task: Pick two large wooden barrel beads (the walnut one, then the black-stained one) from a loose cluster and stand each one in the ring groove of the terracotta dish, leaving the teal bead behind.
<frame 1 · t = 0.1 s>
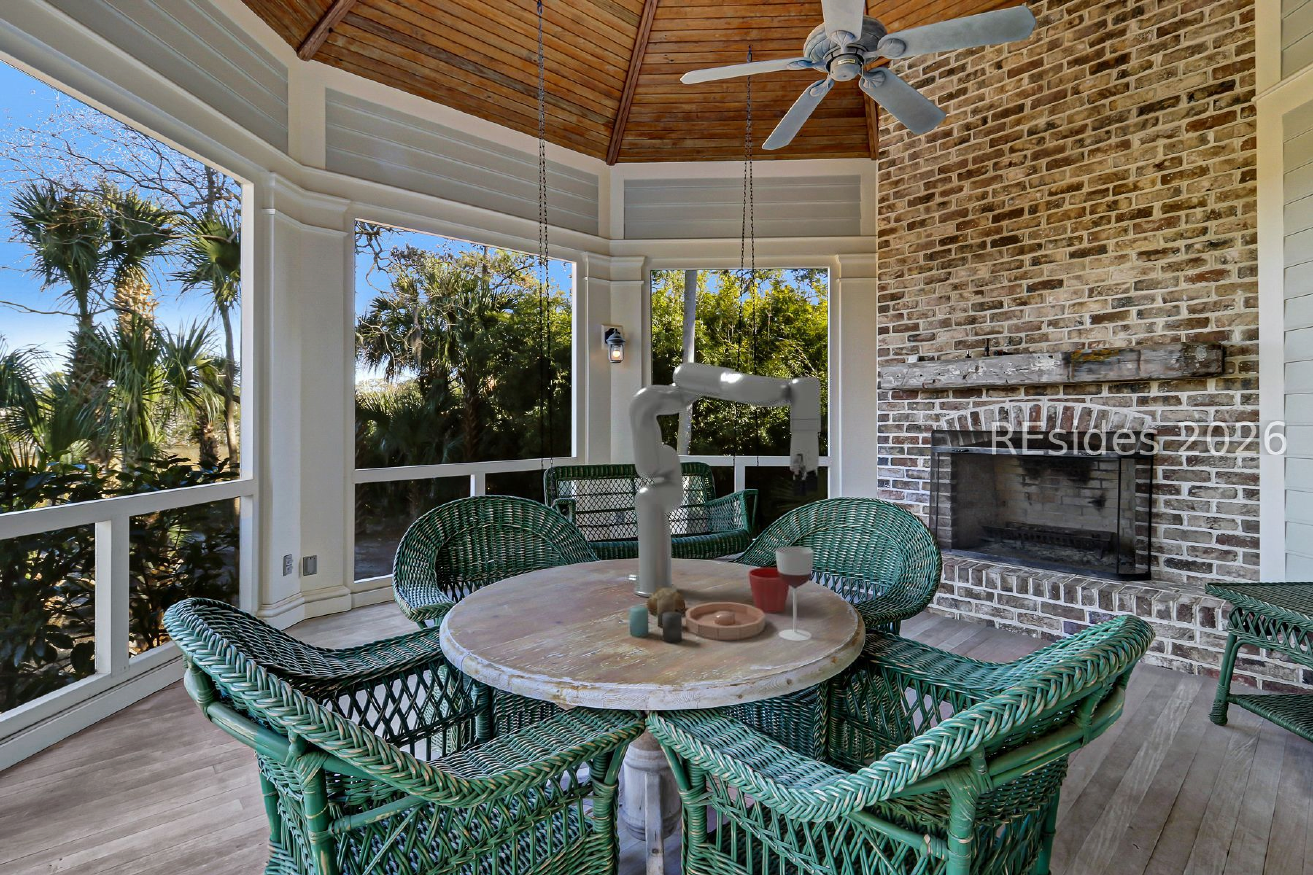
hand: (805, 493, 165), 31 cm above the table, fingers open, 9 cm apart
wineglass: (795, 635, 152), on the table
bread roll: (665, 611, 172), on the table
flower pot: (770, 609, 172), on the table
bead c: (672, 640, 150), on the table
groove dish: (724, 626, 159), on the table
bead b: (639, 633, 155), on the table
bead a: (666, 625, 160), on the table
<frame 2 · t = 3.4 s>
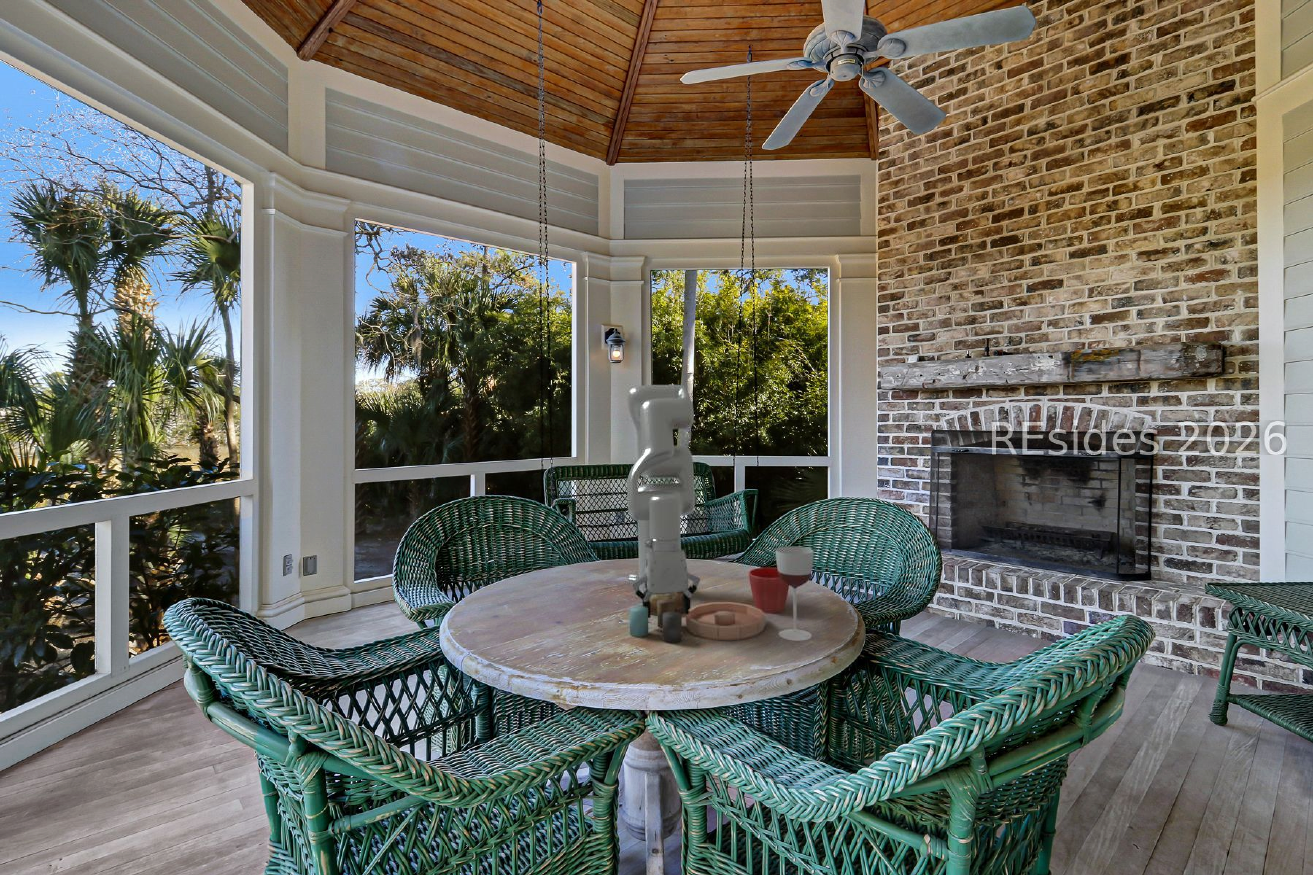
hand: (666, 614, 159), 3 cm above the table, fingers open, 9 cm apart
bead b: (639, 633, 155), on the table, touching gripper
everything else where it was.
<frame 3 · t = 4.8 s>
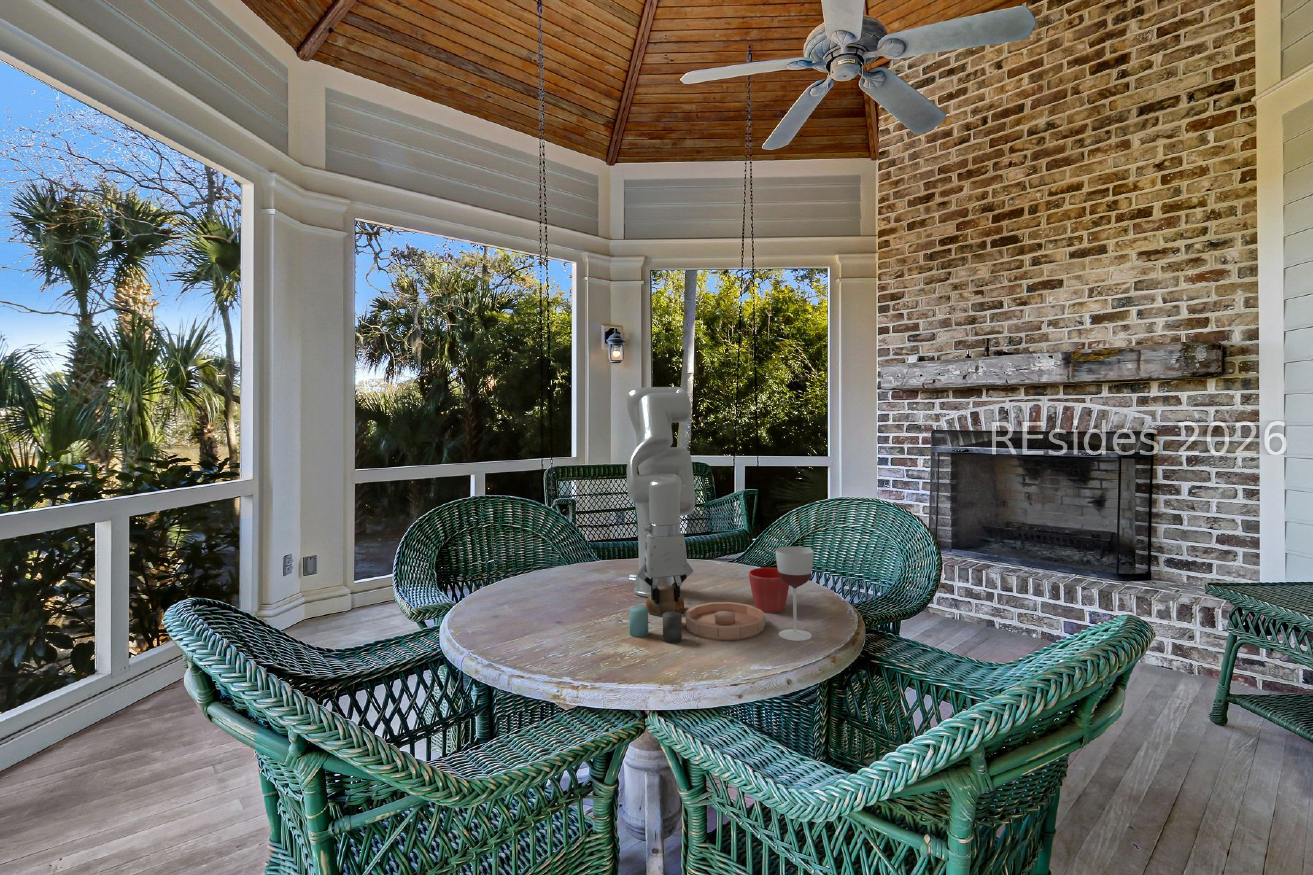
hand: (665, 600, 161), 6 cm above the table, fingers closed on bead a, 4 cm apart
bead b: (639, 633, 155), on the table
bead a: (666, 611, 162), point 3 cm above the table, touching gripper
everything else where it was.
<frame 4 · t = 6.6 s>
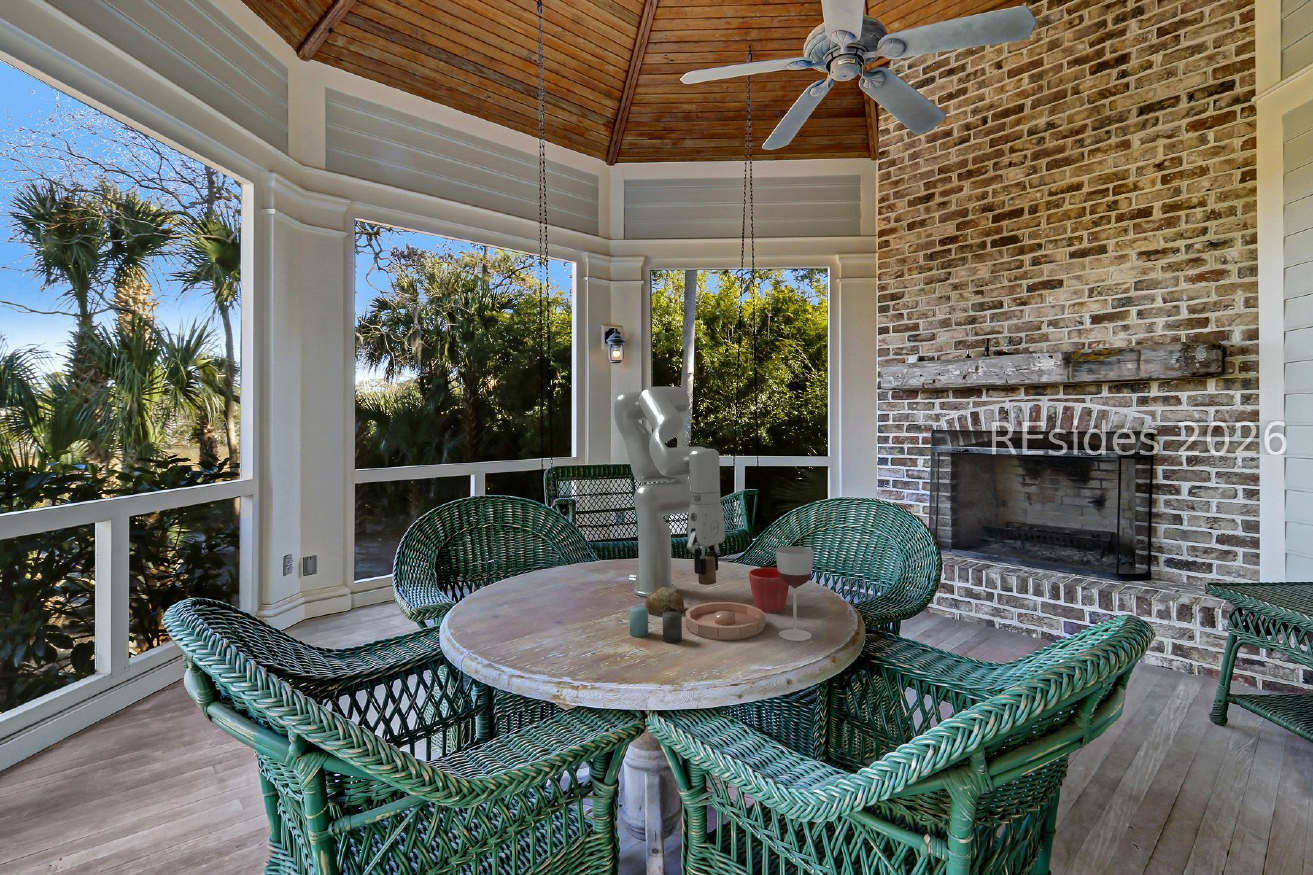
hand: (706, 570, 162), 13 cm above the table, fingers closed on bead a, 4 cm apart
bead a: (707, 582, 162), point 10 cm above the table, touching gripper
everything else where it was.
when the fingers open (3 cm above the table, at t = 8.6 s): bead a stays where it is, resting on groove dish.
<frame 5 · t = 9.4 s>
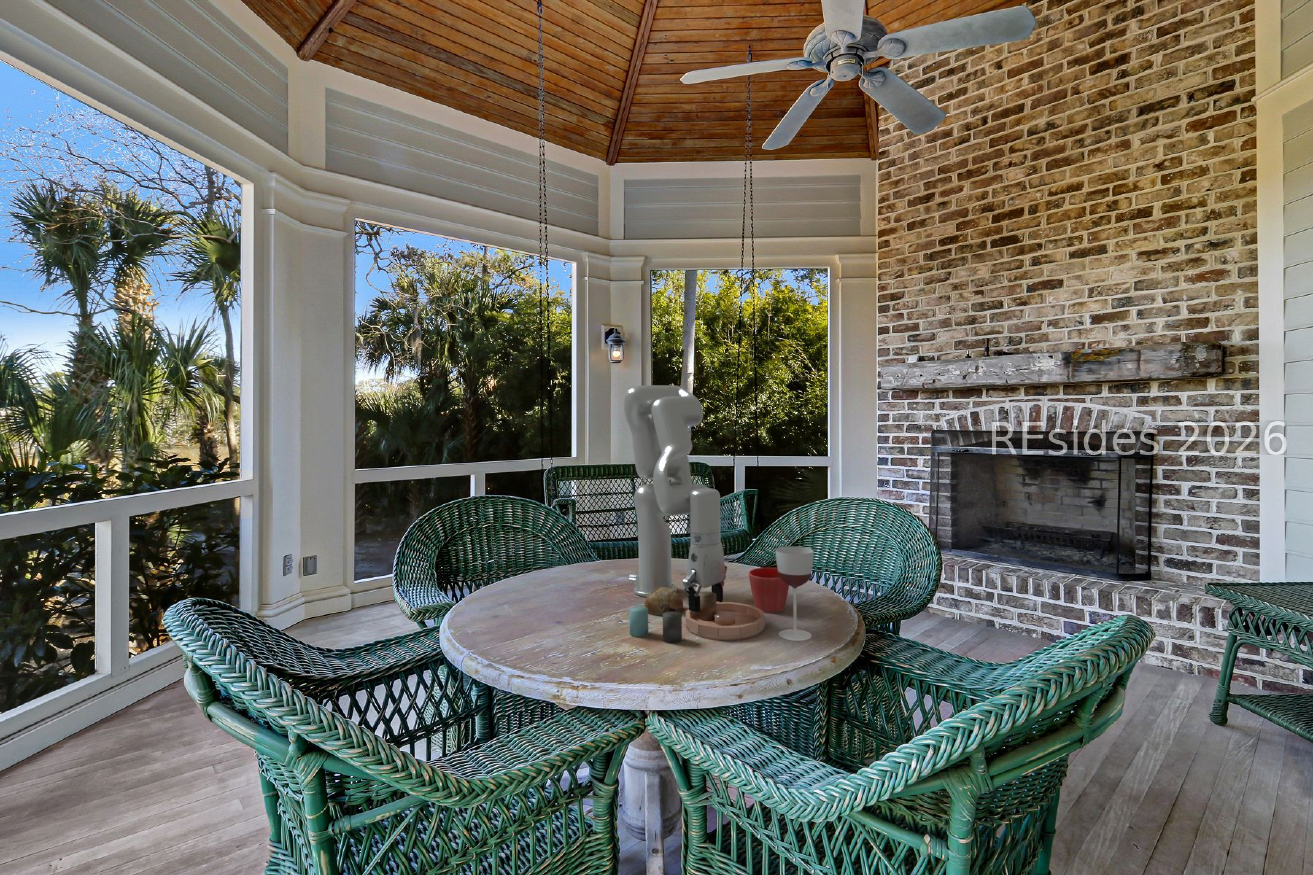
hand: (706, 606, 162), 4 cm above the table, fingers open, 9 cm apart
bead a: (707, 618, 162), point 1 cm above the table, touching groove dish
everything else where it was.
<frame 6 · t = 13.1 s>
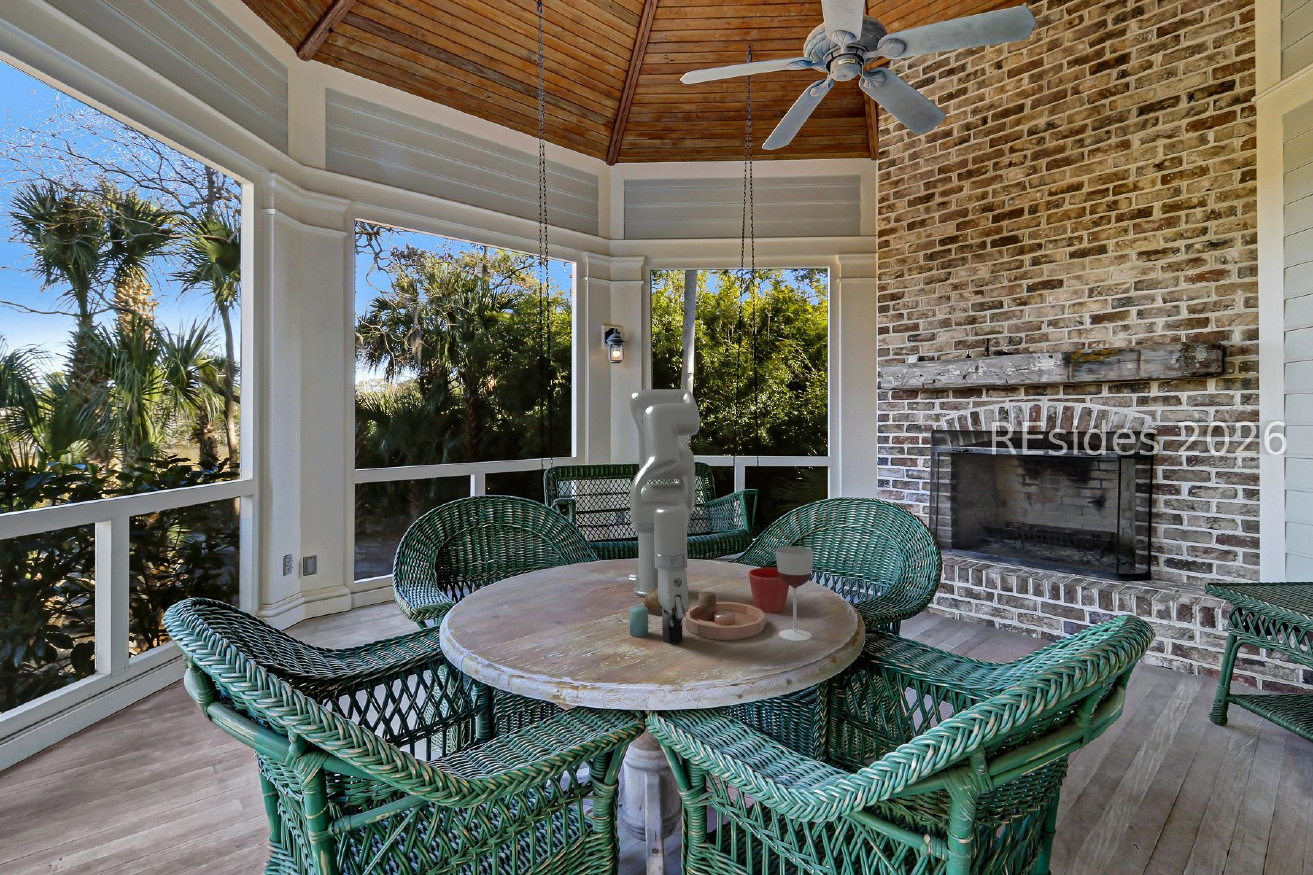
hand: (672, 637, 150), 1 cm above the table, fingers closed on bead c, 4 cm apart
bead c: (672, 640, 150), on the table, touching gripper
when the fingers open (3 cm above the table, at t = 17.5 s): bead c drops 1 cm, resting on groove dish.
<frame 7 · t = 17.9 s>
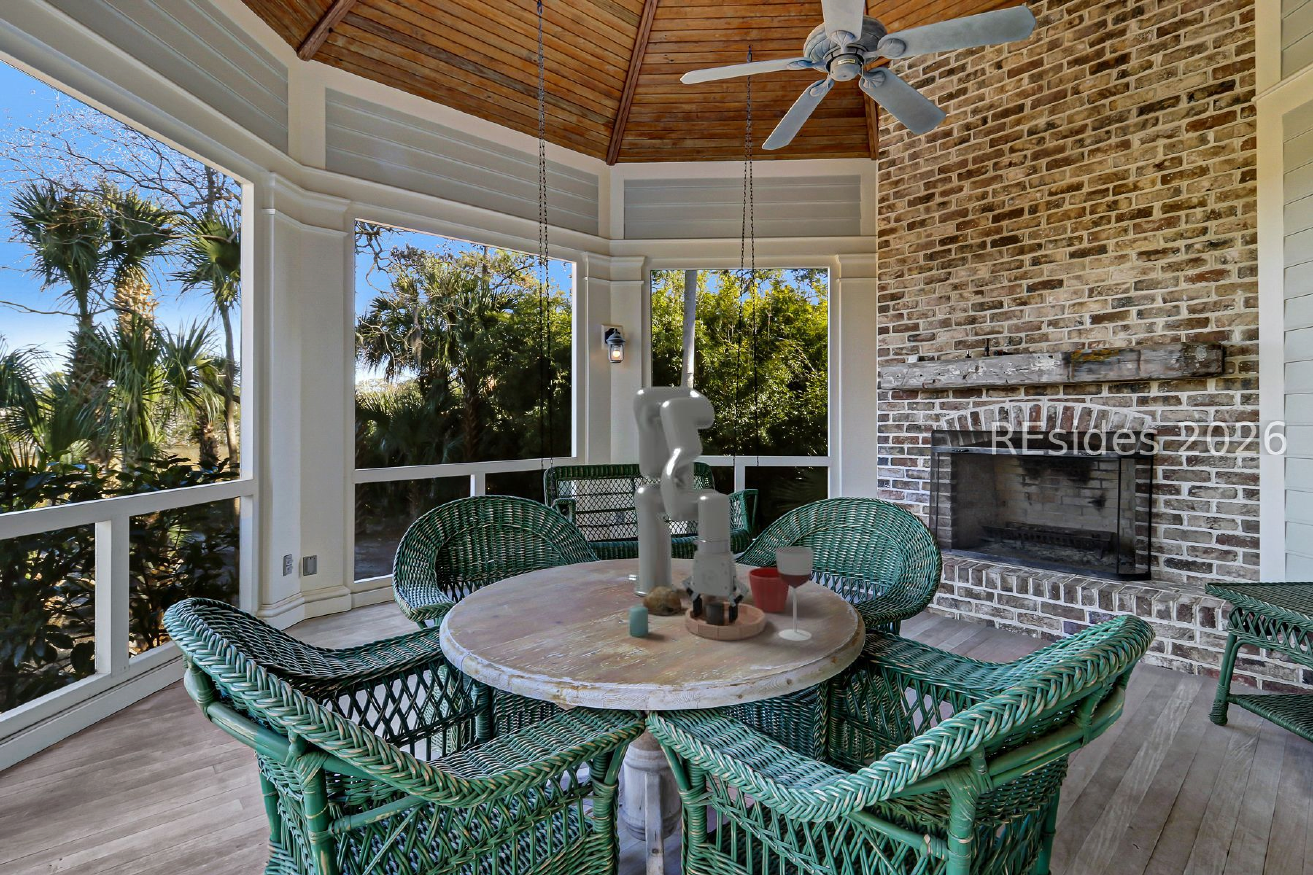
hand: (715, 618, 154), 4 cm above the table, fingers open, 8 cm apart
bead c: (715, 629, 154), point 1 cm above the table, touching groove dish
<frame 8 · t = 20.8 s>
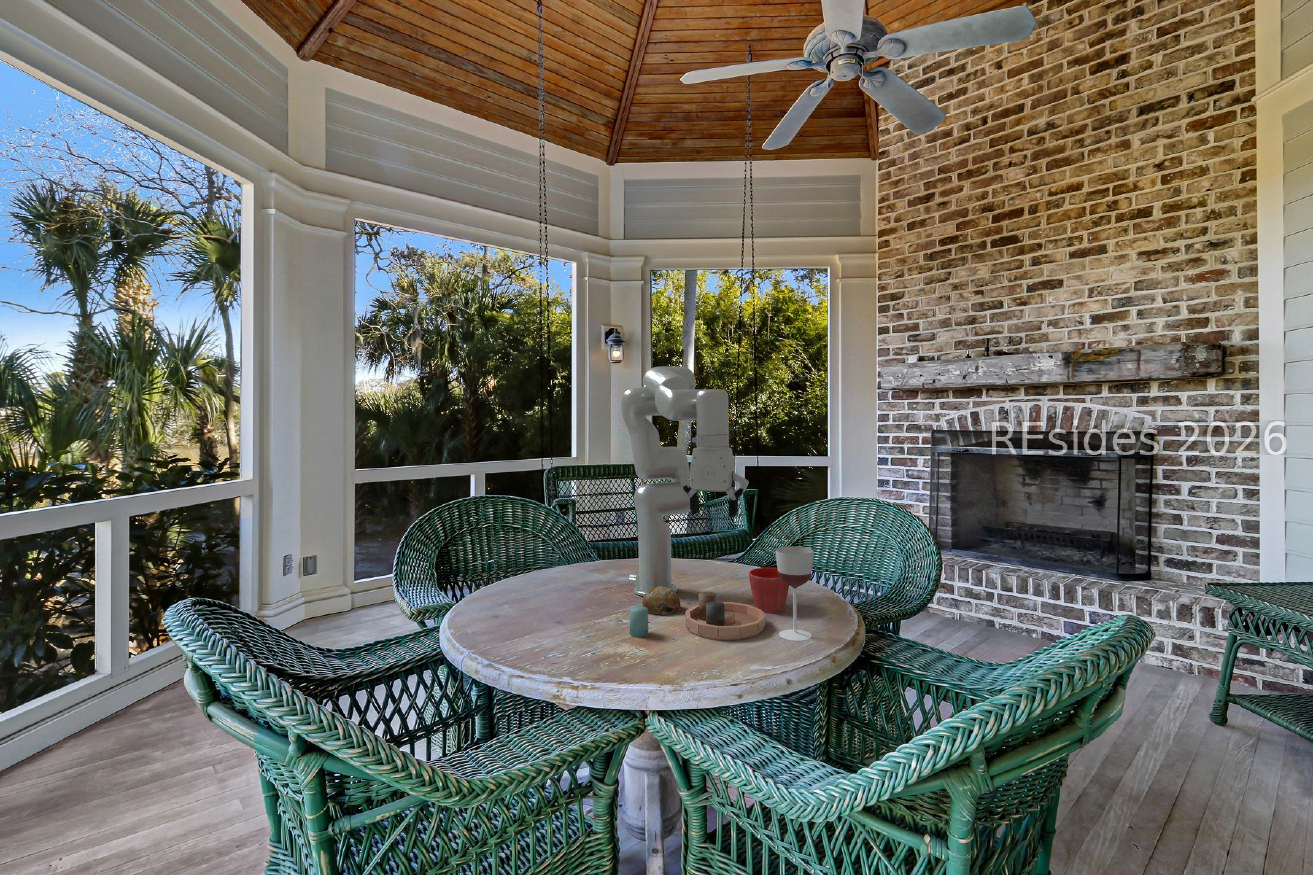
hand: (713, 514, 153), 28 cm above the table, fingers open, 9 cm apart
at the end: bead a inside the target area on the groove dish (5.1 cm from its centre), point 1.0 cm above the groove dish's base; bead c inside the target area on the groove dish (5.5 cm from its centre), point 1.0 cm above the groove dish's base; bead c tilted 0° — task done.
